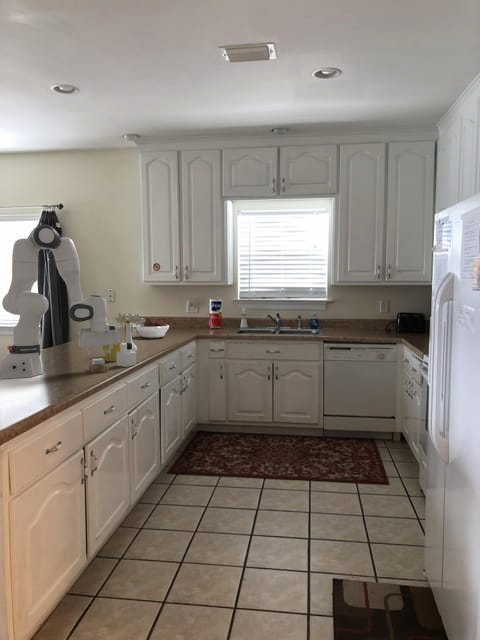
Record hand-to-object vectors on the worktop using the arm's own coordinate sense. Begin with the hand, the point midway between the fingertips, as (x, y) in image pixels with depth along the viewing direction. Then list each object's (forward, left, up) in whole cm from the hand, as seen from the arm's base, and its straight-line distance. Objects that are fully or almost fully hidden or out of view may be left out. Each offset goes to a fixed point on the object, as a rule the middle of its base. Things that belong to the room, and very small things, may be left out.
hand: (99, 354), depth 257 cm
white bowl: (+71, +110, -8) cm, 131 cm away
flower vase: (+29, +38, -8) cm, 49 cm away
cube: (-1, 0, -7) cm, 7 cm away
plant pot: (+13, +22, -8) cm, 27 cm away
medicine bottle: (+15, +3, -8) cm, 17 cm away
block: (-3, -7, -7) cm, 10 cm away
